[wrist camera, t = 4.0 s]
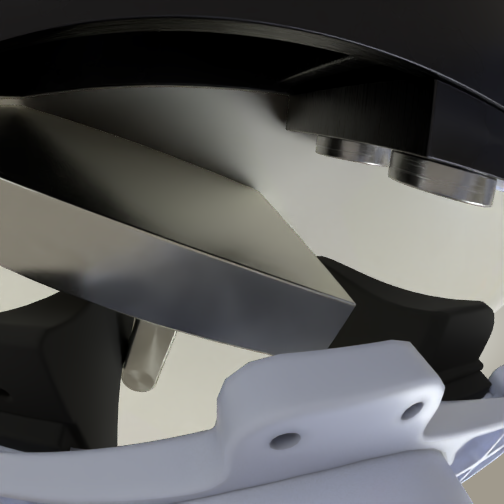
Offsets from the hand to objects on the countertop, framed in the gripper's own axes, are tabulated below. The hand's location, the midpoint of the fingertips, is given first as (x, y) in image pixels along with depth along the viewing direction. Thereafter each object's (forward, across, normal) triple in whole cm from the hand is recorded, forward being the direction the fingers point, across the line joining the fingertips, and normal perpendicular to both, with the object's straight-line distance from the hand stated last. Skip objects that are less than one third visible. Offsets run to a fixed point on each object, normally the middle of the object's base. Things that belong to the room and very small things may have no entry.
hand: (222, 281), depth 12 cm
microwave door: (+4, +5, -2) cm, 7 cm away
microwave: (+4, +1, -12) cm, 13 cm away
